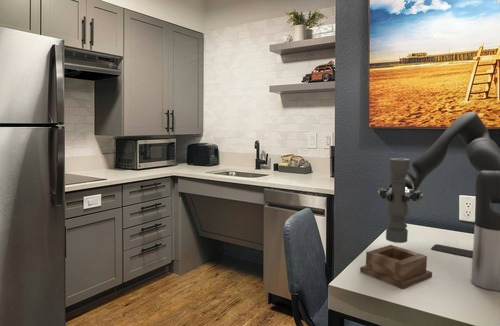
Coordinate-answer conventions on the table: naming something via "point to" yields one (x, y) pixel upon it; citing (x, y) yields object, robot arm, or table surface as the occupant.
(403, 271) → the socket block
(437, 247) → the phone
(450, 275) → the table surface
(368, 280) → the table surface
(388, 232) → the candle holder
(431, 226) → the table surface
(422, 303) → the table surface
